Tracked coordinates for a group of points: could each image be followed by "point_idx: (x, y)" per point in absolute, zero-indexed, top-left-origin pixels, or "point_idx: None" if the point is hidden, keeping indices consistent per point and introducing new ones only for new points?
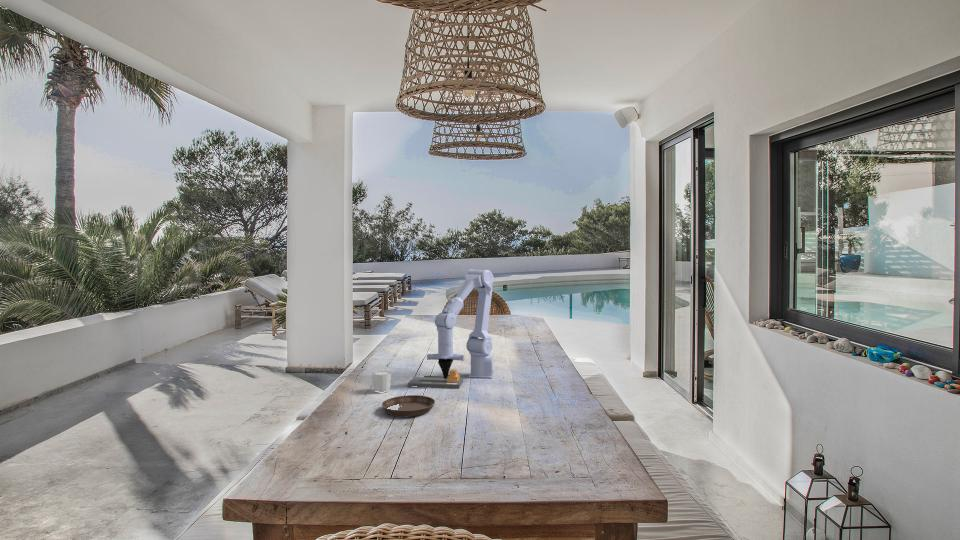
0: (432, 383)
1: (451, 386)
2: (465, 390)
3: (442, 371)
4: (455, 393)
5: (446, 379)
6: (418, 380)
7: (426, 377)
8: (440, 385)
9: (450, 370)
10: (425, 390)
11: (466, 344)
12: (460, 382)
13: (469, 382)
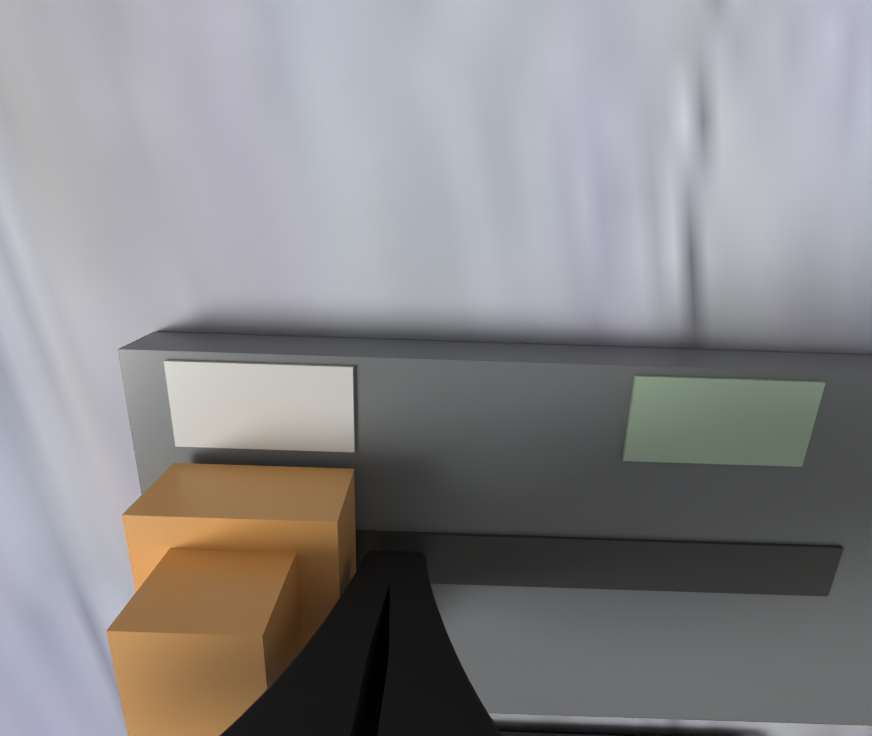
0: (603, 394)
1: (264, 345)
2: (15, 236)
3: (441, 643)
4: (115, 8)
5: None
6: (851, 557)
7: (724, 711)
8: (452, 352)
9: None
10: (688, 176)
11: None
12: None
13: None
